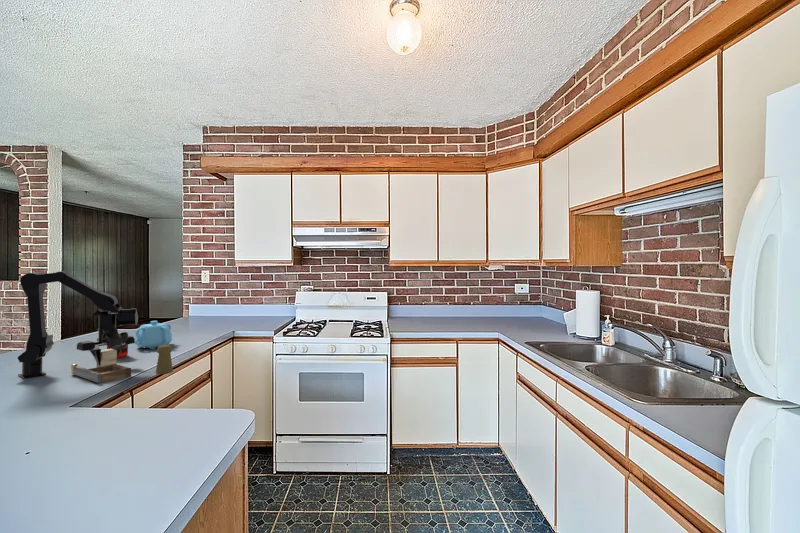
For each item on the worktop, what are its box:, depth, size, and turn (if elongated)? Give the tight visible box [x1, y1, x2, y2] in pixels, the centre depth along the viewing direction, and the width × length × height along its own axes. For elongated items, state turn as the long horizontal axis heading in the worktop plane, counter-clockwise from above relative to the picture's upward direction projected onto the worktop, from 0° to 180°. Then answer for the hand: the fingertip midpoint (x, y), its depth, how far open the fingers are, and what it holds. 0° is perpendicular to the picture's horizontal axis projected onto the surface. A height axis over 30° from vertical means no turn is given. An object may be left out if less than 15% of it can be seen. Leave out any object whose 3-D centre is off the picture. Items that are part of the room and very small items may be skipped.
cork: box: [155, 344, 174, 375], centre depth 159 cm, size 6×6×11 cm
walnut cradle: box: [88, 363, 132, 383], centre depth 151 cm, size 12×10×3 cm
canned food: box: [106, 331, 129, 359], centre depth 181 cm, size 8×8×11 cm
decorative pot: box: [134, 320, 173, 350], centre depth 204 cm, size 16×16×14 cm
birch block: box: [96, 348, 118, 367], centre depth 160 cm, size 5×5×8 cm
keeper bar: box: [70, 363, 102, 383], centre depth 148 cm, size 21×2×4 cm, turn 60°
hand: (106, 363), depth 160 cm, fingers closed on birch block, 5 cm apart
